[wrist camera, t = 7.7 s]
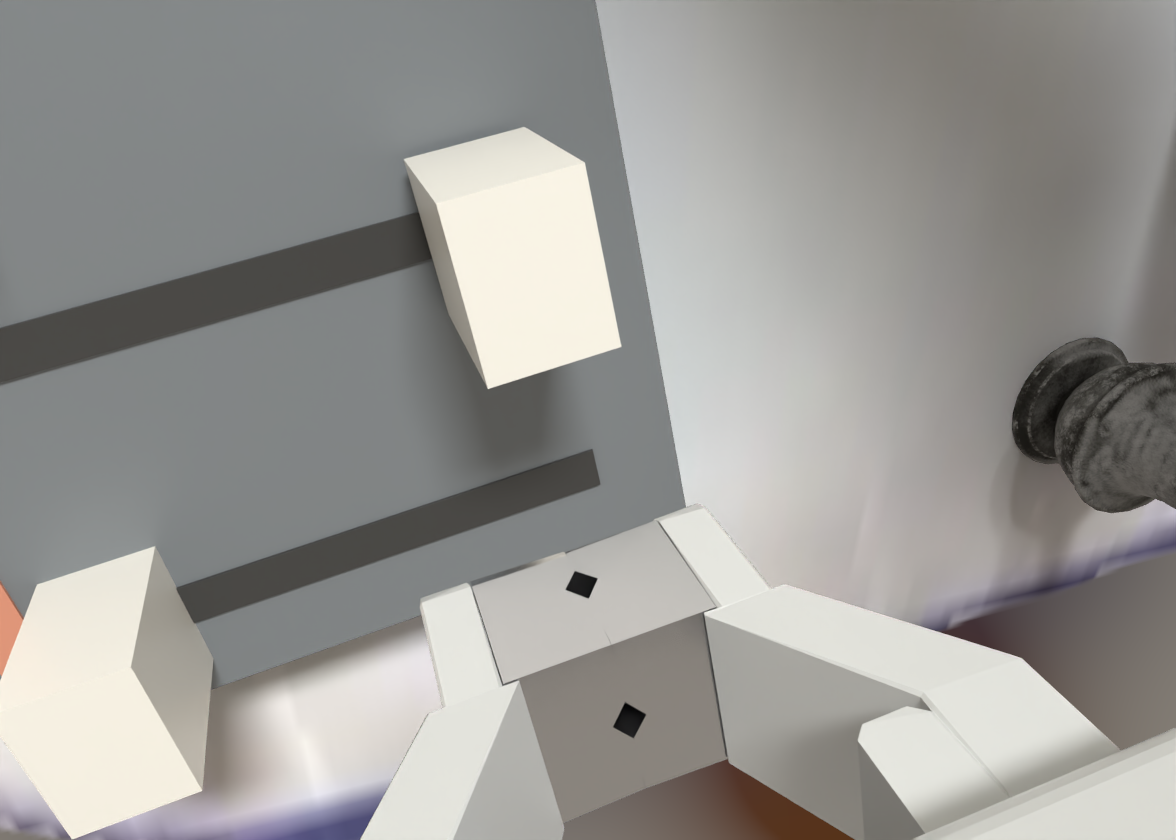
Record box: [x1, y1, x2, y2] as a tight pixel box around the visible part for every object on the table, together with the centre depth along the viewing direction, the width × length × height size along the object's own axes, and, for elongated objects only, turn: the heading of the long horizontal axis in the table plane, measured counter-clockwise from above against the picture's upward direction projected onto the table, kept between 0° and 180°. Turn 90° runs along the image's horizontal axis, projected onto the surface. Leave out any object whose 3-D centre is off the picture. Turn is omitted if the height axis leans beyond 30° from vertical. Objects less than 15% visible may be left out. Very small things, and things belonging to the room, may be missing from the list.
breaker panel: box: [0, 0, 686, 839], centre depth 22 cm, size 20×22×8 cm
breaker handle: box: [404, 127, 621, 389], centre depth 21 cm, size 3×4×5 cm
